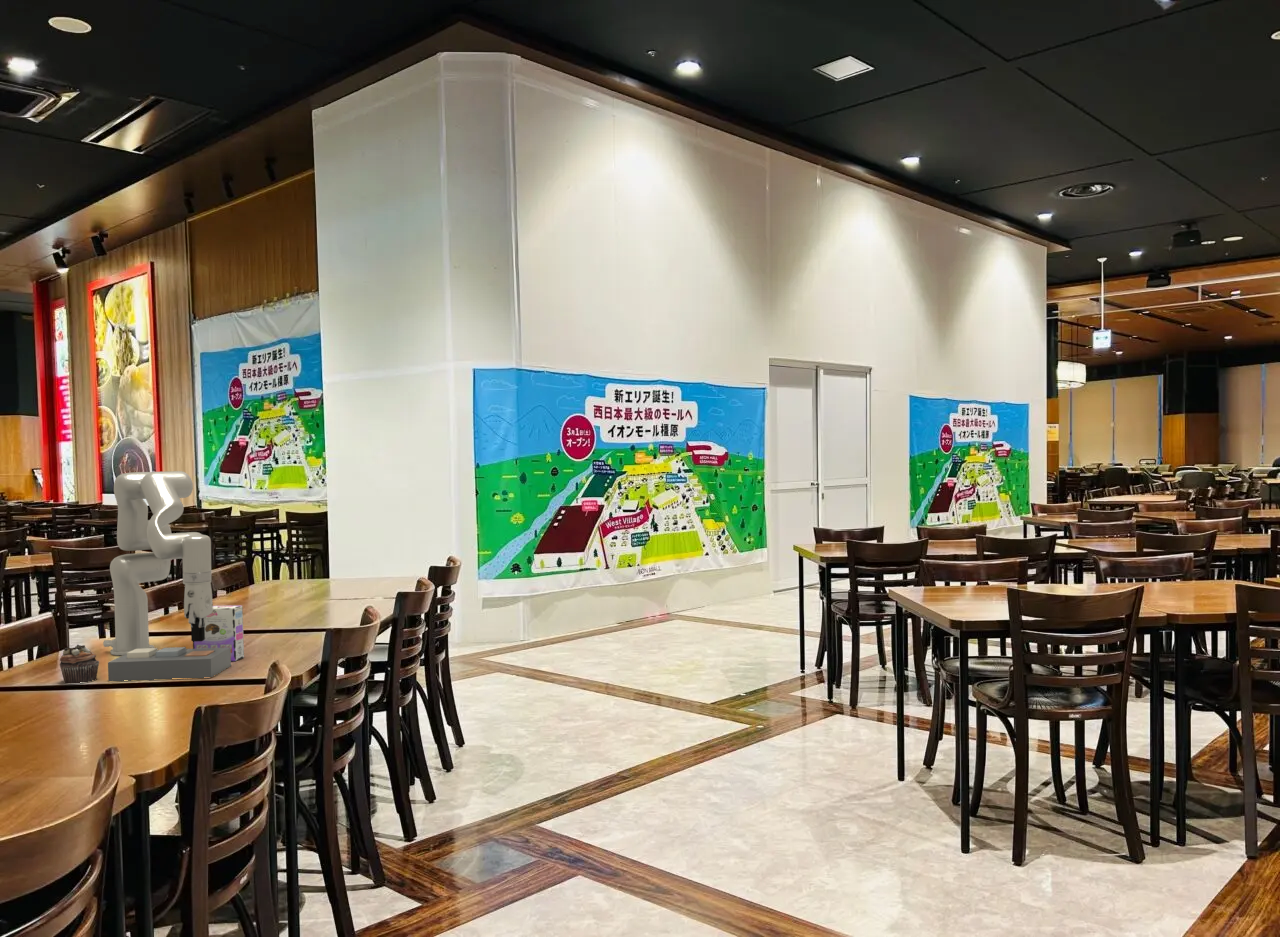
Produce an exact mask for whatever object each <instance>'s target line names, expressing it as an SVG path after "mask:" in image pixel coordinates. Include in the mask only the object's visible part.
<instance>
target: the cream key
mask: <svg viewBox="0 0 1280 937" xmlns="http://www.w3.org/2000/svg"><path fill="white" fill-rule="evenodd" d="M158 650H159V649H158V647H154V648H143V649H134V650H132V651H130V652H128V653H127V658H150V657H152V656H154V655H156V652H157V651H158Z"/></svg>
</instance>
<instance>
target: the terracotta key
mask: <svg viewBox="0 0 1280 937" xmlns="http://www.w3.org/2000/svg"><path fill="white" fill-rule="evenodd" d="M213 652H214V651H192V652H190V653H189V654H187V655H185V656H207V655H209V654H211V653H213Z"/></svg>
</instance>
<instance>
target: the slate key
mask: <svg viewBox="0 0 1280 937" xmlns="http://www.w3.org/2000/svg"><path fill="white" fill-rule="evenodd" d="M186 649H187V648H186V646H179V647H163V648H162V649H158V650H159V651H157V652H156V657H179V656H181V655H182V654H184V653H186Z"/></svg>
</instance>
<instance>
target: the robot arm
mask: <svg viewBox="0 0 1280 937" xmlns="http://www.w3.org/2000/svg"><path fill="white" fill-rule="evenodd" d="M193 489H194V485H193V480H192V478H191V476H190V475H189V473H187V472H185V471H183V470H174V471H172V470H171V471H137V472H136V471H135V472H126V473H125V472H124V473H120V474H119V475H118V476H116V477H115V480H114V483H113V493H114V494H113V495H114V498H115V500H116V504H117V523H116V524H117V527H116V528H117V530H116V542H117V546H118V548H119V549H120V550H123V551H127V552H128V551H130V552H134V551H146V550H151V551H152V552H151V551H150V552H137V553H126V554H121V555H118V556H116V557H114V558H113V559H112V560H111V561H110V564H109V572H110V577H111V581H112V587H113V599H114V600H113V601H114V602H113V604H114V627H115V628H114V631H115V635H114V636H115V637H114V638H113V639H112V640H111V639H104V640H103V643H102V645H103V647H104V648H106V647H107V648H109V647H111V648H112V649H110V651H109V652H110V655H112V656H123V655H125V654H127V653H128V652H130V651H132V650H134V649H143V648H155V645H153V644H150V638H149V636H150V634H149V632H150V631H149V630H150V629H149V602H148V601H149V599H148V594H147V592H146V591H145V589H143V588H142V587H141V586H140V584H141V583H142V584H143V583H149V582H158V581H163V580H165V579H167V577H168V576H169V574H170V572H171V571H170V570H171V560H178V559H179V560H180V559H182V584H183V585H184V593H183V594H184V598H183V613H184V618H185V619H188V624H189V625H190V630H191V632H190V633H191V634H190V636H191V639H190V640H191V641H190V642H193V641H203V640H205V627H203V626H205V618H206V616H208V615H210V614H211V613H212V612H213V606H214V602H213V593H212V592H213V589H212V584H211V583H212V540H211V537H210V536H208V535H206V534H202V533H200V532H197V531H191V532H189V531H188V532H176V533H175V532H173V533H172V529H171V527H170V524H171V523H172V522H174V521H176V520H178V519H180V517H181V516H182V515H183V513H184V508H185V507H184V505H183V503H182V500H181V499H185V498H188V497H190V496H191V495H192V493H193V491H194V490H193ZM144 499H145V500H146V502H145V500H144ZM147 504H148V505H147ZM148 506H149V507H148ZM149 508H150V510H151V513H152V516H150V517H151V518H150V519H148V518H149V517H148V516H149Z"/></svg>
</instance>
